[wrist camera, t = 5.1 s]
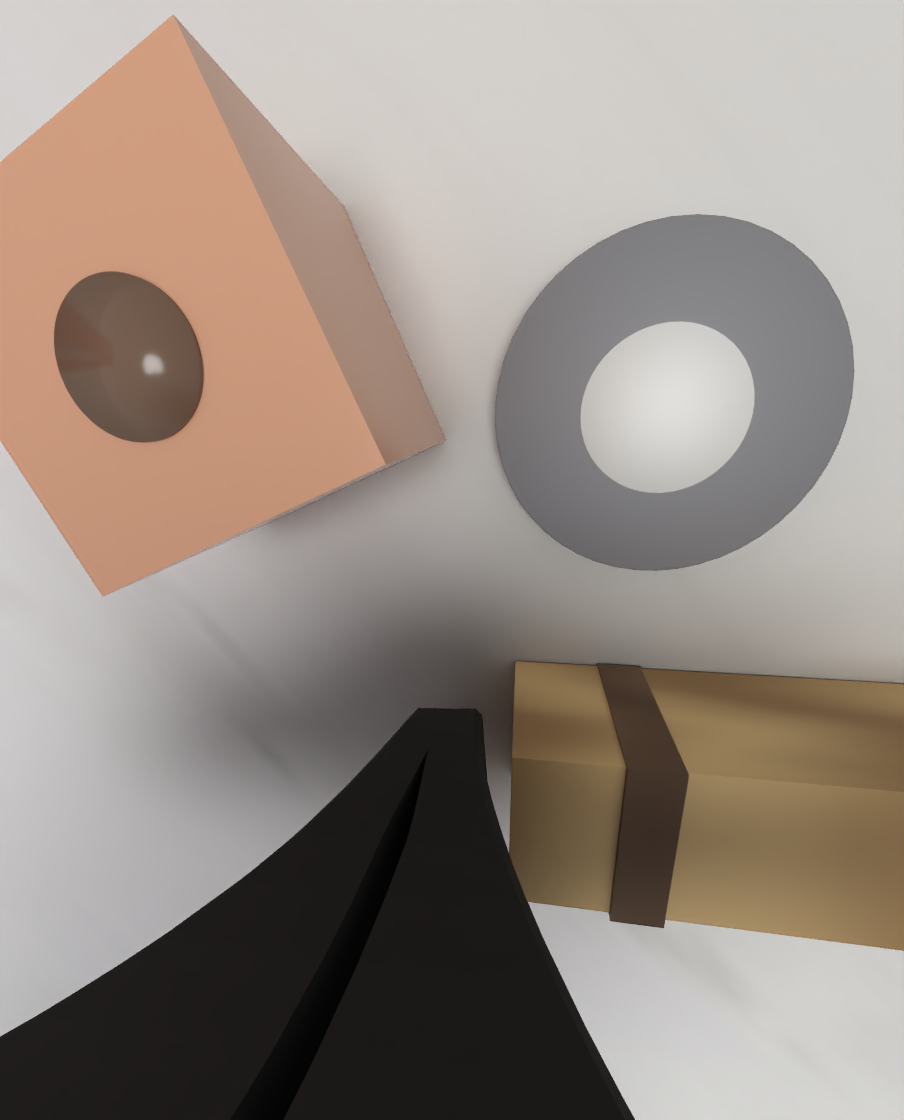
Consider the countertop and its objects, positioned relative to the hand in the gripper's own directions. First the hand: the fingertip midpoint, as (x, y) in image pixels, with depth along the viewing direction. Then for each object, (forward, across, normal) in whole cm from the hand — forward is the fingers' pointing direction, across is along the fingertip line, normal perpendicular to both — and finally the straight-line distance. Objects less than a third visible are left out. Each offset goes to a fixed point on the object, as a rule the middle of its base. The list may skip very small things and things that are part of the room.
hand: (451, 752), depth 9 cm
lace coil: (+1, -4, -6) cm, 7 cm away
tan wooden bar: (+1, -8, +1) cm, 8 cm away
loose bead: (+1, +2, -7) cm, 7 cm away
